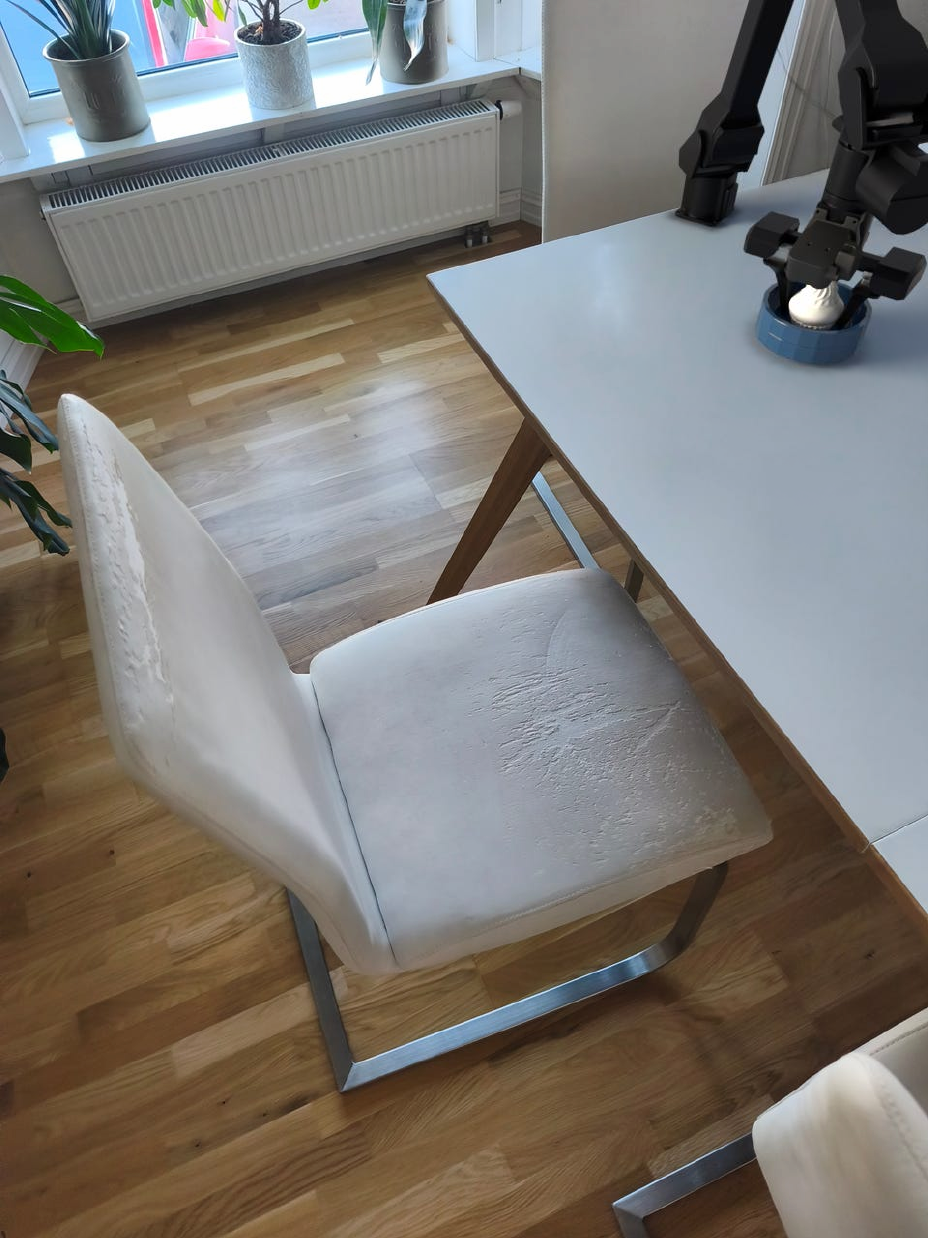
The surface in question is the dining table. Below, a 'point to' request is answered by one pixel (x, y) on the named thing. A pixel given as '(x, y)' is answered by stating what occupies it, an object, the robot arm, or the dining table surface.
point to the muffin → (816, 308)
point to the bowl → (805, 342)
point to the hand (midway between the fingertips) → (810, 322)
